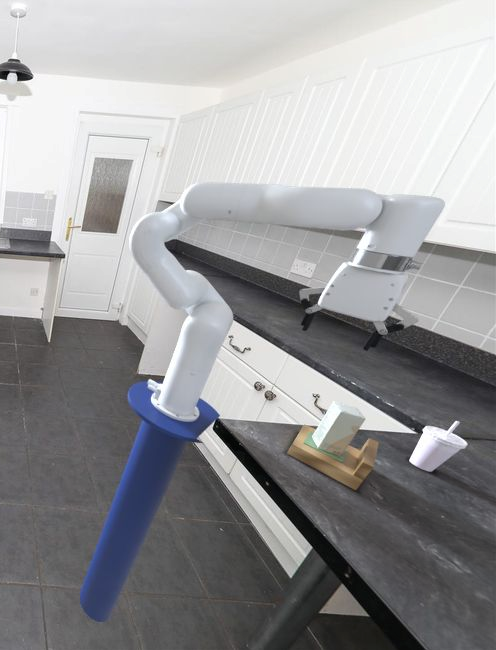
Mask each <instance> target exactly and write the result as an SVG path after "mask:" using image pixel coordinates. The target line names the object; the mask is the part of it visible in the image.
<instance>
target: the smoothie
mask: <svg viewBox="0 0 496 650" xmlns="http://www.w3.org/2000/svg"><path fill="white" fill-rule="evenodd" d="M460 423H461V421H459V420H456V421H454V423H453V424H452V425H451V426H450V427H449V429H448V430H446V429H443V428H440V427H437V426H433V425H426V426H425V427H424V428H422V432H423V433H422V434H421V436H420V438H419V440H418V442H417V444H416V446H415V448H414V450H413V452H412V454H411V456H410V458H409V463H411V464H412V465H413V466H415V467H417V468H418V469H421V470H423V471H426V472H428V473H429V472H430V473H432V472H433V471H434V470H436V469H437V468H438V467H440V466H441V465H442V464H444V463H445V462H446V461H447V460H450V458H451V457H453V456H454V455H456V454H457V453H458V452H459V451H461V450H465V449H466V448H467V446H468V445H469V443H468V442H467V441H466V440H465V439H464V438H462V437H460V436H458V435H457V434H455V433H453V432H454V431H455V429H456V428H457V427H458V426H459V425H460Z"/></svg>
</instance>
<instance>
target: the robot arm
mask: <svg viewBox="0 0 496 650" xmlns="http://www.w3.org/2000/svg"><path fill="white" fill-rule="evenodd" d="M445 206H446V202H445V200H444V199H443V198H440V197H437V196H429V195H419V194H418V195H417V194H404V193H403V194H401V193H400V194H399V193H398V194H392V195H391V194H390V195H389V194H382V193H377V192H374V191H372V190H370V189H368V188H367V189H366V188H358V187H355V188H354V187H325V186H324V187H323V186H322V187H321V186H292V185H281V184H275V183H253V182H251V183H248V182H247V183H246V182H219V181H218V182H216V181H215V182H213V181H202V182H201V181H200V182H196V183H193V184H191V185H190V186H188V187H187V188H186V189H185V190H184V191H183V193H182V194H181V196H180V199H179V200H178V201H176V202H175V203H173V204H172V205H170V206H168V207H167V208H165V209H164V210H162V211H154V212H151V213H148V214H145V215H144V216H142V217H141V218H140V219H139V220H138V221H137V222H136V223H135V224H134V226H133V227H132V230H131V232H130V235H129V241H128V245H129V246H128V247H129V251H130V254H131V257H132V260H133V261H134V262H135V263H136V265H137V266H138V268H139V269H140V270H141V272H142V273H143V274H144V275H145V277H146V278H147V280H148V281H149V283H150V284H151V285H152V286H153V288H154V289H155V290H156V292H158V295H159V296H160V297H161V298H162V300H163V301H164V302H165V304H167V306H169V307H170V308H172V309H174V310H178V311H179V310H184V311H185V312H186V313H187V314H188V315H187V317H186V318H185V320H184V322H183V324H182V327H181V330H180V333H179V337H178V341H177V343H176V347H175V349H174V352H173V354H172V358H171V360H170V363H169V365H168V368H167V371H166V374H165V376H164V379H163V382H162V383H163V384H158V383H156V382H157V381H155V380H154V379H153V380H152V379H151V378H149V379H148V380H147V381H148V382H147V385H148V386H147V388H148V389H150V390H152V391H154V393H153V395H152V397H151V402H152V404H153V405H154V407H155V408H156V409H157V410H158V411H160V412H161V413H163V414H164V415H166V416H168V417H170V418H173V419H175V420H179V421H183V422H192V421H195V420H197V419H198V417H199V410H198V408H197V407H196V405H197V402H198V400H199V398H201V396H202V394H203V391H204V388H205V386H206V384H207V381H208V379H209V377H210V374H211V372H212V369H213V367H214V365H215V362H216V360H217V358H218V356H219V353H220V351H221V348H222V346H223V344H224V342H225V341H226V338H227V336H228V334H229V332H230V330H231V328H232V325H233V323H234V313H233V310H232V309H231V307H230V306H229V305H228V303H227V302H226V301H225V299H224V298H223V297H222V296H221V294H220V293H219V292H218V291H217V290H216V289H215V288H214V286H213V285H212V284H211V283H210V281H209V280H208V279H207V278H206V277H205V276H204V275H203V274H201V273H200V272H198V271H195V270H192V269H185V267H183V265H182V264H181V263H180V262H179V261H178V259H177V258H176V257H175V255H174V254H173V253H171V251H170V250H168V249H167V247H166V245H165V243H167V242H169V241H172V240H174V239H176V238H177V237H179V236H181V235H182V234H184V233H186V232H187V231H189V230H191V229H192V228H194V227H196V226H197V225H199V224H201V223H203V222H204V221H206V220H213V221H224V222H225V221H226V222H236V223H246V224H255V225H277V226H286V227H287V226H289V227H300V228H309V229H322V230H331V231H344V232H345V231H354V230H360V229H362V230H365V232H364V233H363V235H362V238H361V239H360V241H359V243H358V245H357V246H356V249H355V250H354V251H353V253H352V256H350V260H349V261H347V262H346V261H344V262H342V264H341V265H340V266H339V267H338V269H337V270H336V271H335V273H334V274H333V276H332V277H331V279H330V280H329V281H328V282H327V285H326V286H319V287H310V288H309V287H308V288H301V289H300V290H299V291H298V295H299V300H300V304H301V305H302V307H303V309H304V310H305V315H304V317H303V319H302V320H301V322H300V326H303V327H302V329H301V331H303V332H307V331H308V330H309V329H310V327H311V325H312V323H313V322H314V319H315V318H316V316H317V312H318V311H321V310H324V309H325V310H327V311H331V312H335V313H337V314H340V315H345V316H348V317H353V318H356V319H360V320H363V321H367V322H372V323H373V325H374V327H375V329H374V330H373V331H372V333H371V334H370V336H369V338H368V339H367V341H366V342H365V344H364V345H363V348H362V350H363V351H367V352H368V351H369V349H370V348H374V349H376V348H377V346H378V344H379V343H380V342H381V339H382V338H383V336H384V335H387V334H392V333H395V332H400V331H403V330H405V329H407V328H409V327H411V326H413V325H415V324H417V323H418V322H419V317H418V316H416V315H414V314H413V313H412V312H410V311H409V310H407V309H406V308H405V307H403V306H402V305H400V304H399V303H398V301H399V299H400V297H401V296H402V295H403V292H404V290H405V287H406V286H407V283H408V280H409V275H410V274H408V273H405V272H406V270H407V271H409V270H417V271H419V270H420V269H421V268H422V265H423V264H424V262H419V261H418V260H415V259H414V257H415V256H416V254H417V253H418V251H419V249H420V248H421V246H422V244H423V243H424V241H425V240H426V239H427V236H428V235H429V233H430V231H431V230H432V229H433V227H434V225H435V224H436V222H437V220H438V219H439V217H440V216H441V214H442V212H443V210H444V209H445ZM318 294H319V295H320V294H321V295H320V297H319V299H318V301H317V303H316V304H313V303H312V301H311V300H310V295H318ZM392 312H394V313H395V314H396V315H398V316H399V317H400V318H402V320H401V321H398V322H395V323H391V324H387V323H386V320H387V318H389V316H390V315H391V313H392Z"/></svg>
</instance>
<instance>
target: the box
mask: <svg viewBox="0 0 496 650" xmlns="http://www.w3.org/2000/svg"><path fill="white" fill-rule="evenodd" d="M365 421H366V417H365V416H364V414H363V413H362V412H361V411H360V409H359V408H358V407H355V406H353V405H349V404H346V403H343V402H339V401H336V400H333V402H332V403H331V405H330V406H329V407H328V409H327V411H326V413H325V415H324V416H323V418H322V419H321V421H320V423H319V424H318V426H317V427H316V428H315V429H316V431H315V432H314V434H313V436H312V438H313V440H314V442H315V444H316V446H317V448H319V449H321V450H324V451H327V452H330V453H332V454H335V455H338V456H341V455H342V454H343V452H344V451H345V449H346V448H347V446H348V445H349V446H350V444H351V443H352V440H353V439H354V438H355V436H356V434H357V433H358V431H359V430H360V428H361V427H362V426H363V424H364V422H365Z"/></svg>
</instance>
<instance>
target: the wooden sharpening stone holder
mask: <svg viewBox="0 0 496 650" xmlns="http://www.w3.org/2000/svg"><path fill="white" fill-rule="evenodd" d="M316 429H317V428H314V427H312V426H309V425H307V424H305V423H304V424H303V425H302V428H301V429H300V430H299V433H298V434H297V436H296V438H295V439H294V441H293V443H292V444H291V446H289V449H288V451H287V453H286V454H287V455H289V456H291V457H293V458H294V459H297V460H298V461H300V462H301V463H304V464H306V465H307V466H309V467H311V468H313V469H314V470H317V471H319V472H321V473H322V474H324V475H326V476H328V477H330V478H332V479H333V480H336V481H337V482H339V483H341V484H343V485H345V486H347V487H348V488H351V489H352V490H354V491H357V490H358V488H359V487H360V486H361V485H362V483H363V482H364V481H365V479H366V478H367V477H368V475H369V474H370V472H372V470H373V468H374V467H375V462H376V457H377V452H378V449H379V443H380V442H379V441H377V440H375V439H372V438H371V437H369V438H368V439H367V440H366V442H364V444H363V446H362V447H361V448H360V449H358V448H355V447H354V446H351V445H350V444H349V445H348V446H347V448H346V449H345V451H344V452H343V454H342V455H341V456H338V455H335V454H332V453H330V452H327V451H324V450H321V449H319V448H317V446H316V444H315V442H314V440H313V438H312V436H313V434H314V432H315V431H316Z"/></svg>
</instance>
